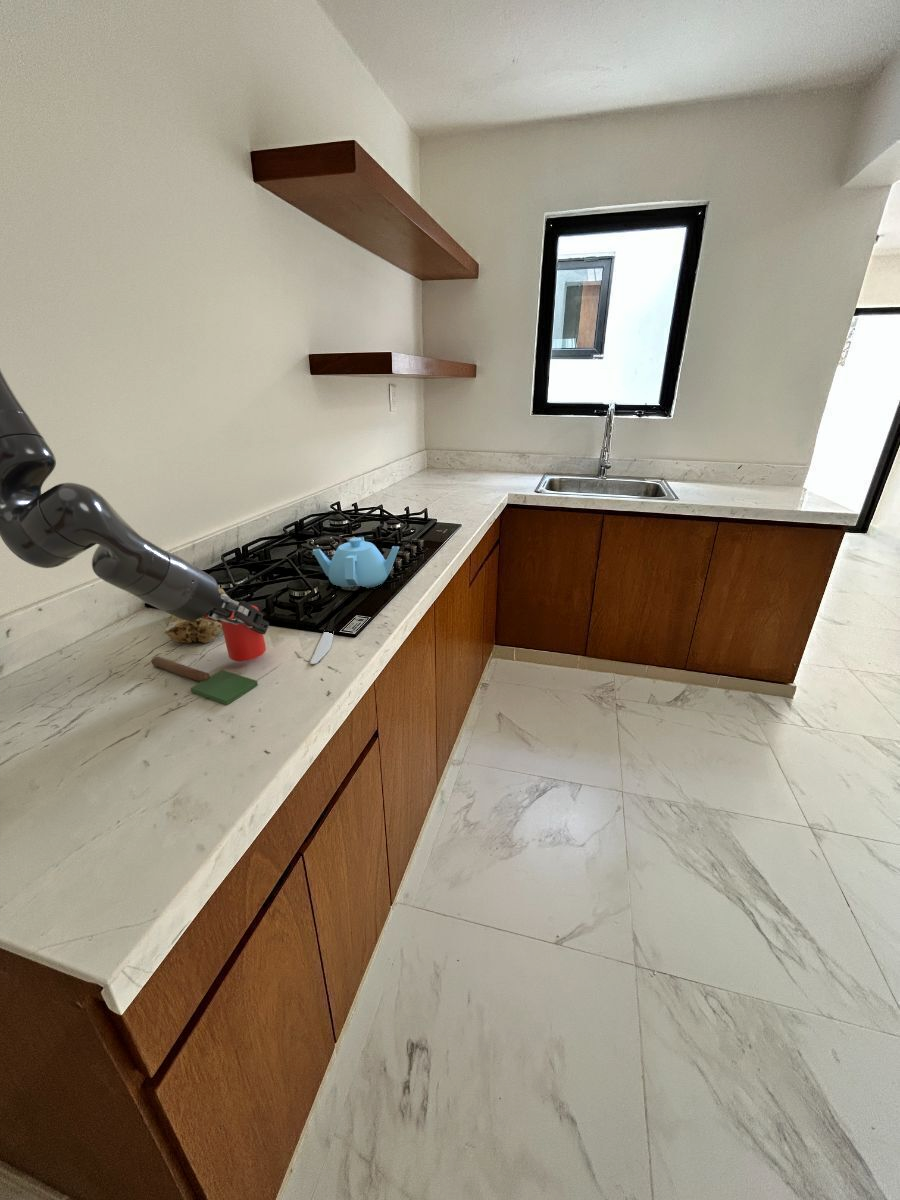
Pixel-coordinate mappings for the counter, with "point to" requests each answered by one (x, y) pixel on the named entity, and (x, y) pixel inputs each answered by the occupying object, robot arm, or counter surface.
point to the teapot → (356, 564)
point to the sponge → (193, 628)
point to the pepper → (242, 641)
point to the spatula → (211, 681)
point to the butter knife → (322, 647)
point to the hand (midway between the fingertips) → (250, 625)
